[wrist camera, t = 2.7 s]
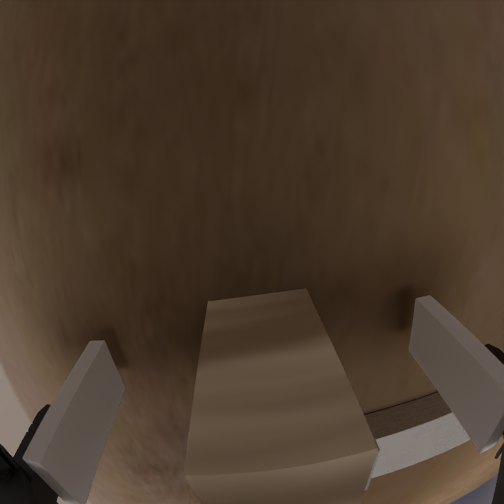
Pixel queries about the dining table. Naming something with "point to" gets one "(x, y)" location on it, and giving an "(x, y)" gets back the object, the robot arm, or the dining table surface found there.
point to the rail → (413, 433)
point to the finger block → (274, 408)
